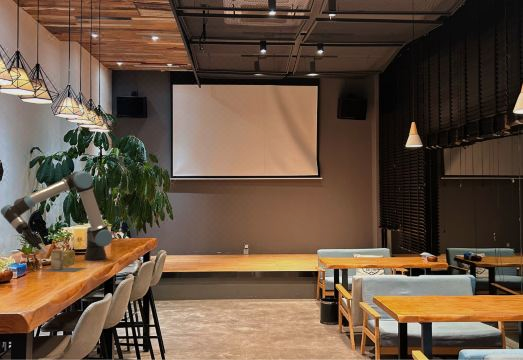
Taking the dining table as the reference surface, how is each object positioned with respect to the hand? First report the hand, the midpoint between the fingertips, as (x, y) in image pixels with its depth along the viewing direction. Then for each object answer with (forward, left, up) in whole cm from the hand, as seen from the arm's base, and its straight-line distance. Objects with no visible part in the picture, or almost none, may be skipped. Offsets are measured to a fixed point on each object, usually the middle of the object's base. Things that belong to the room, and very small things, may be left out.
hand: (44, 252), depth 309 cm
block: (-4, +7, -10) cm, 13 cm away
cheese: (-17, -5, -11) cm, 21 cm away
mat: (-6, +12, -11) cm, 17 cm away
